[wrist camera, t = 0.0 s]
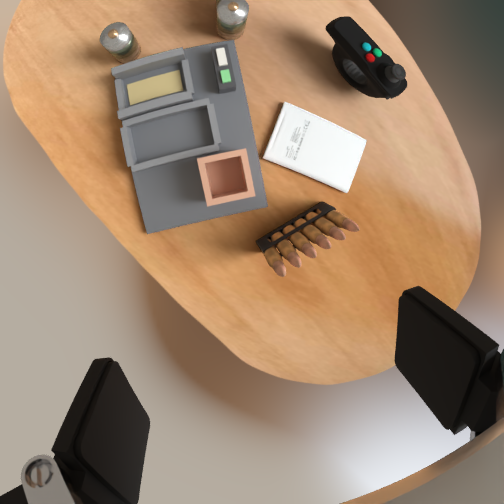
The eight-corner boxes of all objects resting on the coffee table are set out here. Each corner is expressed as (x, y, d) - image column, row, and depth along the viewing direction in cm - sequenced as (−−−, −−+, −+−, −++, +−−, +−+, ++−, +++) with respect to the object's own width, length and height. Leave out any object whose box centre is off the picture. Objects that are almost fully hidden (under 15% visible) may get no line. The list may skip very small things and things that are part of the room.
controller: (364, 110, 36) (403, 99, 27) (306, 44, 33) (331, 15, 23) (382, 95, 36) (422, 82, 26) (327, 31, 32) (355, 2, 23)
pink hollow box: (199, 159, 35) (196, 158, 31) (242, 150, 35) (246, 148, 31) (208, 201, 37) (207, 206, 32) (250, 192, 37) (255, 196, 32)
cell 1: (114, 45, 30) (97, 27, 23) (139, 37, 30) (126, 16, 23) (117, 67, 31) (99, 50, 24) (142, 58, 31) (128, 39, 24)
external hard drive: (343, 192, 40) (261, 158, 37) (362, 140, 38) (282, 103, 36) (347, 193, 38) (263, 158, 36) (367, 139, 37) (285, 100, 34)
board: (116, 71, 31) (106, 63, 27) (233, 42, 32) (235, 30, 28) (148, 232, 38) (141, 240, 34) (266, 205, 39) (272, 210, 35)
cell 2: (214, 21, 30) (214, -4, 24) (241, 17, 31) (246, -7, 24) (219, 42, 32) (220, 19, 25) (246, 38, 32) (252, 15, 25)
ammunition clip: (322, 200, 39) (362, 217, 28) (328, 212, 40) (369, 232, 29) (255, 241, 40) (270, 273, 29) (262, 252, 41) (279, 287, 29)
